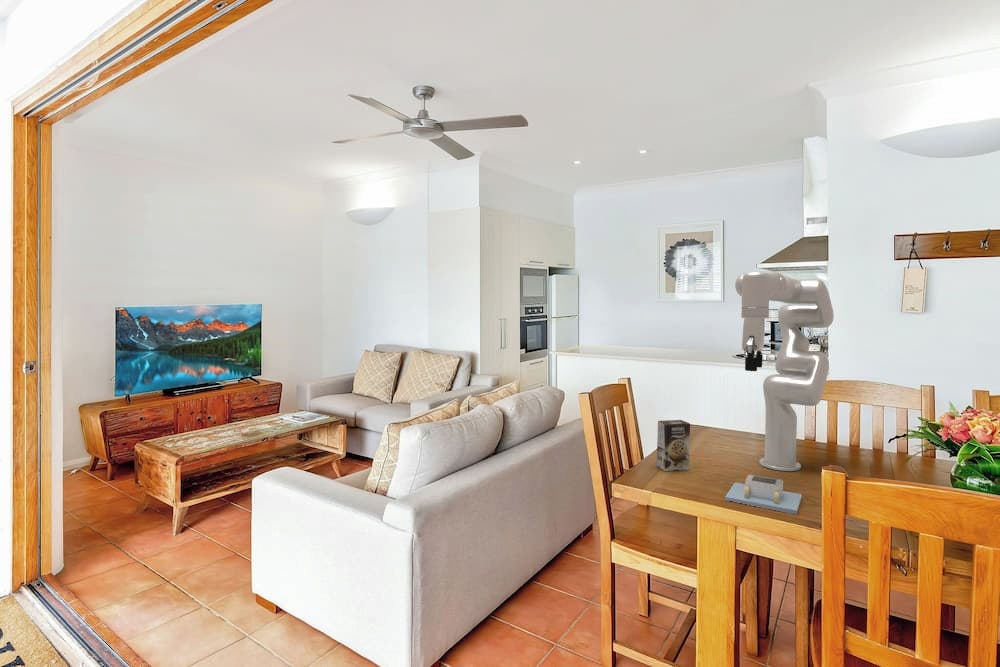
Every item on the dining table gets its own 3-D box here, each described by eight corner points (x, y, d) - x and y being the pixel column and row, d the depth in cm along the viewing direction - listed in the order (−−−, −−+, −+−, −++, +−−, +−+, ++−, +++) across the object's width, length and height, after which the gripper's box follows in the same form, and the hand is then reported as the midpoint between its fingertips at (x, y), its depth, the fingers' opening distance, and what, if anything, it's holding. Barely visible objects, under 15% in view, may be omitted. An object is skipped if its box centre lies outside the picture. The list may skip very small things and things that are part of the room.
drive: (748, 489, 156) (748, 474, 156) (782, 495, 151) (782, 479, 151) (745, 495, 151) (745, 479, 151) (780, 501, 146) (780, 485, 146)
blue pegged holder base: (734, 486, 162) (735, 472, 162) (801, 498, 152) (802, 483, 151) (725, 500, 150) (725, 486, 150) (796, 514, 140) (797, 499, 140)
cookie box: (665, 471, 176) (665, 424, 175) (656, 465, 182) (656, 420, 181) (690, 470, 177) (690, 423, 176) (680, 464, 184) (681, 418, 182)
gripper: (746, 312, 169) (745, 365, 170) (736, 314, 154) (734, 371, 155) (772, 312, 164) (771, 366, 165) (764, 314, 150) (762, 373, 151)
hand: (753, 368), depth 160 cm, fingers open, 9 cm apart
